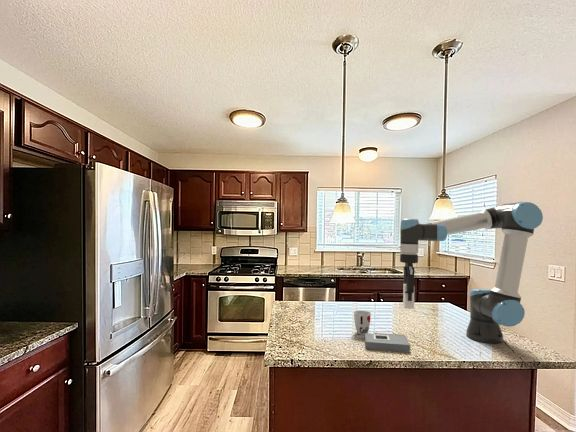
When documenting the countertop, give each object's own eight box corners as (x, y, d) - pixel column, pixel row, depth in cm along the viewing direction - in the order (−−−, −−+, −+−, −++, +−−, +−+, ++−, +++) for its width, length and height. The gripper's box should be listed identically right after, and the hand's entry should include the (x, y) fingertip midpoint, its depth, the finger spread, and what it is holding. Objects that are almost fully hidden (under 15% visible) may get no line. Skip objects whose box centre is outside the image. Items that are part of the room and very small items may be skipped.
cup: (358, 336, 158) (358, 315, 159) (351, 331, 166) (351, 311, 167) (373, 334, 160) (373, 314, 161) (365, 329, 168) (365, 310, 169)
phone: (404, 337, 159) (404, 334, 159) (407, 342, 152) (407, 339, 152) (374, 335, 162) (374, 332, 162) (375, 340, 155) (375, 337, 155)
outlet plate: (405, 342, 150) (405, 335, 150) (409, 352, 138) (409, 344, 138) (365, 339, 153) (364, 332, 153) (365, 348, 142) (365, 341, 142)
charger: (412, 306, 147) (412, 284, 147) (414, 308, 143) (414, 285, 143) (403, 306, 148) (403, 283, 148) (404, 308, 144) (404, 284, 144)
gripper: (397, 252, 155) (396, 302, 154) (403, 254, 138) (402, 310, 138) (414, 252, 154) (413, 303, 153) (422, 255, 137) (421, 312, 136)
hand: (408, 306), depth 145 cm, fingers closed on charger, 4 cm apart
